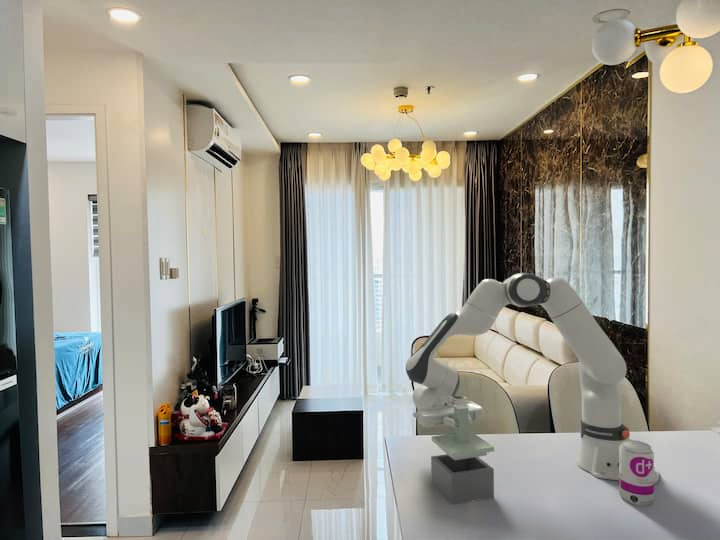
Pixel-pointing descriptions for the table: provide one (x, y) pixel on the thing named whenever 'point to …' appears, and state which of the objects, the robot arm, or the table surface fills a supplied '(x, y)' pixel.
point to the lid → (462, 439)
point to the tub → (462, 478)
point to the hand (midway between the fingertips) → (463, 423)
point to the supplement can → (636, 472)
